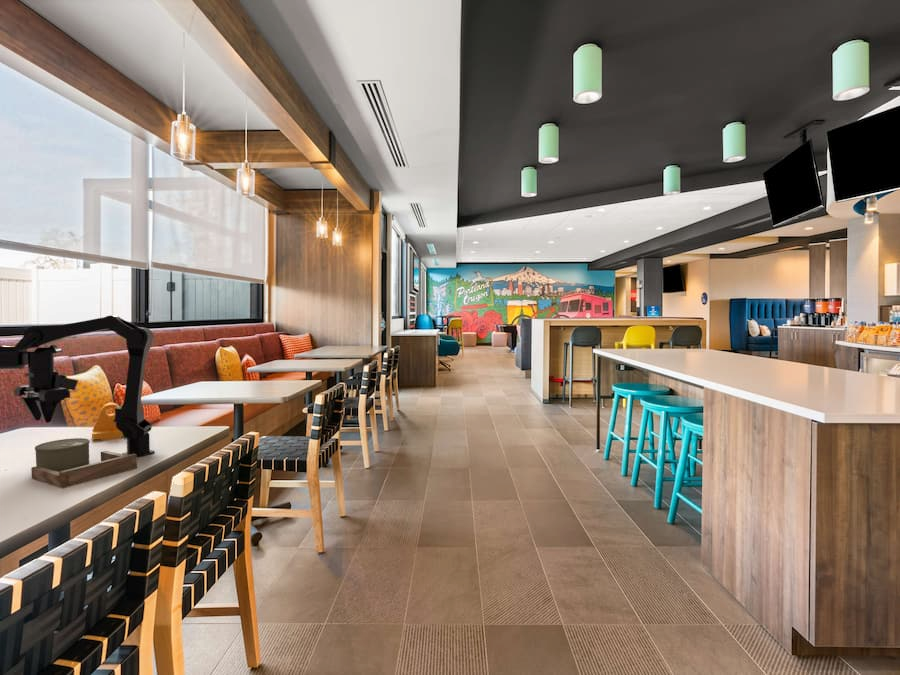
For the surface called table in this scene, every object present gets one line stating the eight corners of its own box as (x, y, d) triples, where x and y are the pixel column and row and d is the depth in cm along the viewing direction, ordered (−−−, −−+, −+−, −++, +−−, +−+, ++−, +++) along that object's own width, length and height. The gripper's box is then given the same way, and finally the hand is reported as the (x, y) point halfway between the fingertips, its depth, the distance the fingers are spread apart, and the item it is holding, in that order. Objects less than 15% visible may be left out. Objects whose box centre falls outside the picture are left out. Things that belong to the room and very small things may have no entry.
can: (61, 460, 138) (61, 437, 138) (100, 461, 138) (100, 438, 138) (23, 474, 126) (22, 449, 126) (65, 474, 126) (64, 449, 126)
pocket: (137, 468, 132) (136, 454, 132) (62, 488, 116) (61, 472, 116) (106, 460, 138) (105, 447, 138) (31, 478, 123) (31, 463, 122)
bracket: (91, 442, 159) (91, 407, 159) (92, 437, 165) (91, 404, 165) (129, 437, 165) (129, 404, 165) (129, 433, 171) (128, 401, 171)
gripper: (90, 367, 139) (91, 419, 140) (57, 364, 147) (59, 413, 148) (44, 371, 129) (46, 426, 130) (12, 367, 137) (14, 420, 138)
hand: (42, 421), depth 137 cm, fingers open, 6 cm apart
